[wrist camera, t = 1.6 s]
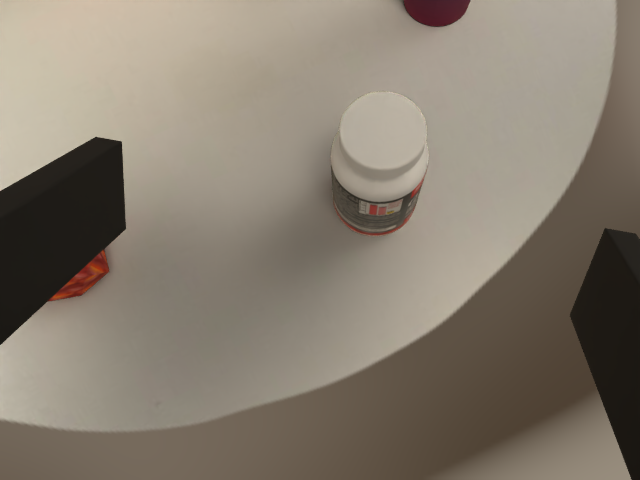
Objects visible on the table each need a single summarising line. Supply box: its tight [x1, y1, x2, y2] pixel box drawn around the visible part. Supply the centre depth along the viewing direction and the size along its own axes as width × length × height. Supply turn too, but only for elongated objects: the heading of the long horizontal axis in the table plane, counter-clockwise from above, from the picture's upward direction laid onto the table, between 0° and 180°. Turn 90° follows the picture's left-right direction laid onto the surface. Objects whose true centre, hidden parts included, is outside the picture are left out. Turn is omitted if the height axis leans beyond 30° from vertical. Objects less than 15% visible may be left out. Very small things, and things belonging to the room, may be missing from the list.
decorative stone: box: [47, 250, 109, 302], centre depth 36 cm, size 6×7×8 cm
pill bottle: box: [331, 91, 429, 236], centre depth 35 cm, size 6×6×10 cm
